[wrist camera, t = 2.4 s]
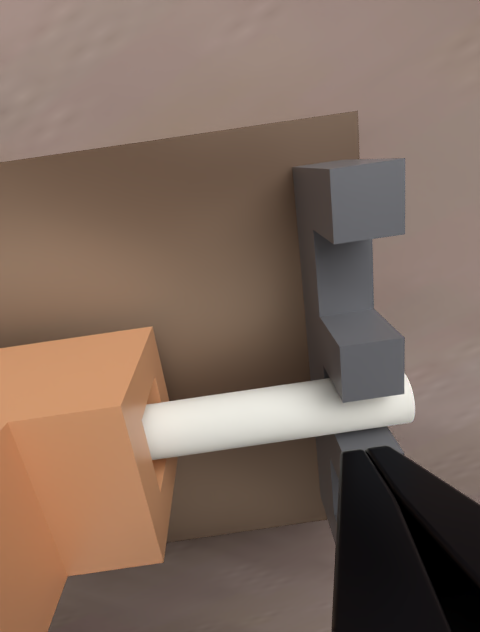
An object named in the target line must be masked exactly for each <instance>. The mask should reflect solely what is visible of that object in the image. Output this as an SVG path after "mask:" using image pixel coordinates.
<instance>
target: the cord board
mask: <svg viewBox="0 0 480 632" xmlns="http://www.w3.org/2000/svg"><path fill="white" fill-rule="evenodd" d="M354 159H359V130H358V111H353V112H346V113H339V114H332V115H326V116H319V117H312V118H305V119H298V120H291V121H284V122H277V123H270V124H263V125H256V126H249V127H243V128H236V129H229V130H222V131H215V132H208V133H201V134H194V135H187V136H180V137H173V138H166V139H159V140H153V141H146V142H139V143H132V144H125V145H118V146H111V147H104V148H97V149H90V150H83V151H76V152H70V153H63V154H56V155H49V156H42V157H35V158H28V159H21V160H14V161H7V162H0V348H6V347H13V346H20V345H27V344H33V343H40V342H47V341H54V340H61V339H68V338H75V337H82V336H89V335H96V334H103V333H109V332H116V331H123V330H130V329H137V328H144V327H151V326H153V331H154V335H155V340H156V344H157V348H158V353H159V357H160V362H161V366H162V371H163V375H164V379H165V384H166V388H167V393H168V397H169V401H175V400H182V399H189V398H196V397H202V396H209V395H216V394H223V393H230V392H237V391H244V390H251V389H258V388H265V387H272V386H278V385H285V384H292V383H299V382H306V381H311V379H310V367H309V355H308V344H307V332H306V320H305V309H304V297H303V286H302V274H301V262H300V251H299V239H298V227H297V216H296V204H295V193H294V181H293V169H292V167H296V166H303V165H310V164H317V163H324V162H331V161H338V160H354ZM320 520H327V515H326V512H325V509H324V506H323V502H322V499H321V495H320V483H319V472H318V460H317V448H316V437H309V438H302V439H296V440H289V441H282V442H275V443H268V444H261V445H254V446H247V447H240V448H233V449H226V450H220V451H213V452H206V453H199V454H192V455H185V456H178V460H177V467H176V475H175V482H174V490H173V497H172V504H171V512H170V519H169V526H168V534H167V541H166V543H168V542H175V541H182V540H189V539H196V538H203V537H210V536H217V535H224V534H230V533H237V532H244V531H251V530H258V529H265V528H272V527H279V526H286V525H293V524H299V523H306V522H313V521H320Z"/></svg>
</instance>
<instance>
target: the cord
mask: <svg viewBox="0 0 480 632" xmlns="http://www.w3.org/2000/svg"><path fill="white" fill-rule="evenodd" d="M414 417H415V401H414V395H413V391H412V388H411V385H410V382H409V380H408V378H407V376H406V374H405V373H404V394H401V395H394V396H387V397H380V398H373V399H366V400H360V401H353V402H346V403H343V402H342V400H341V398H340V396H339V395H338V393H337V391H336V389H335V387H334V385H333V383H332V381H331V379H330V378H327V379H320V380H313V381H306V382H299V383H292V384H285V385H278V386H272V387H265V388H258V389H251V390H244V391H237V392H230V393H223V394H216V395H209V396H202V397H196V398H189V399H182V400H175V401H168V402H161V403H154V404H147V405H146V407H145V411H144V414H143V417H142V423H143V427H144V431H145V435H146V439H147V443H148V447H149V451H150V454H151V458H152V460H157V459H164V458H171V457H178V456H185V455H192V454H199V453H206V452H213V451H220V450H226V449H233V448H240V447H247V446H254V445H261V444H268V443H275V442H282V441H289V440H296V439H302V438H309V437H316V436H323V435H330V434H337V433H344V432H351V431H358V430H365V429H371V428H378V427H385V426H392V425H399V424H406V423H411V422H412V421H413V420H414Z"/></svg>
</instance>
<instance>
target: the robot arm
mask: <svg viewBox="0 0 480 632" xmlns="http://www.w3.org/2000/svg"><path fill="white" fill-rule="evenodd" d="M332 632H480V504H478V503H476V502H475V501H473V500H472V499H470V498H469V497H467V496H466V495H464V494H463V493H461V492H460V491H458V490H456V489H455V488H453V487H452V486H450V485H449V484H447V483H446V482H444V481H443V480H441V479H440V478H438V477H437V476H435V475H433V474H432V473H430V472H429V471H427V470H426V469H424V468H423V467H421V466H420V465H418V464H417V463H415V462H414V461H412V460H410V459H409V458H407V457H406V456H404V455H403V454H401V453H400V452H398V451H397V450H395V449H394V448H392V447H390V446H388V445H382V446H375V447H368V448H366V449H365V451H364V450H363V449H355V450H348V451H342V452H341V454H340V469H339V489H338V510H337V530H336V550H335V571H334V591H333V612H332Z"/></svg>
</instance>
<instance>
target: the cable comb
mask: <svg viewBox="0 0 480 632" xmlns="http://www.w3.org/2000/svg"><path fill="white" fill-rule="evenodd" d="M292 169H293V181H294V193H295V204H296V216H297V227H298V239H299V251H300V262H301V274H302V286H303V297H304V309H305V320H306V332H307V344H308V355H309V367H310V379H311V381H313V380H320V379H327V378H330V379H331V381H332V383H333V385H334V387H335V389H336V391H337V393H338V395H339V396H340V398H341V400H342V402H343V403H346V402H353V401H360V400H366V399H373V398H380V397H387V396H394V395H401V394H404V343H405V337H403V336H402V335H401V334H400V333H399V332H398V331H397V330H396V329H395V328H394V327H393V326H392V325H391V324H390V323H388V322H387V321H386V320H385V319H384V318H383V317H382V316H381V315H380V314H379V313H378V312H377V311H376V310H375V309H374V295H373V253H372V239H375V238H382V237H389V236H396V235H403V234H405V158H393V159H354V160H338V161H331V162H324V163H317V164H310V165H303V166H296V167H292ZM382 445H388V446H390V447H392V448H394V449H395V450H397V451H398V452H400V453H401V454H403V455H404V452H403V450H402V449H401V447H400V446H399V444H398V443H397V441H396V440H395V438H394V436H393V435H392V433H391V432H390V430H389V429H388V427H387V426H385V427H378V428H371V429H365V430H358V431H351V432H344V433H337V434H330V435H323V436H316V448H317V460H318V472H319V483H320V495H321V499H322V502H323V506H324V509H325V512H326V515H327V519H328V522H329V525H330V528H331V532H332V535H333V538H334V541H335V545H336V530H337V510H338V489H339V469H340V454H341V452H342V451H348V450H355V449H363V450H364V451H365V449H366V448H368V447H375V446H382Z"/></svg>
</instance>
